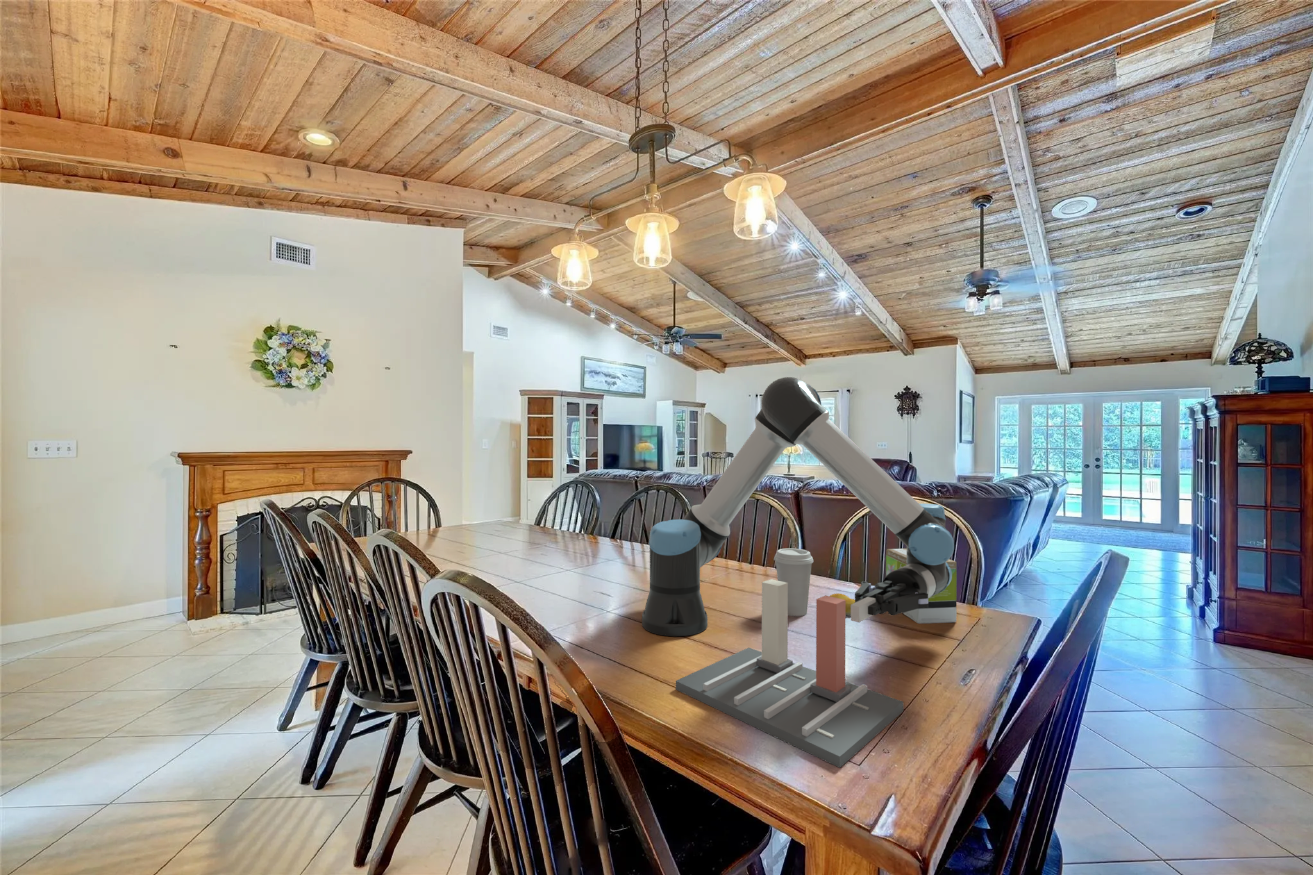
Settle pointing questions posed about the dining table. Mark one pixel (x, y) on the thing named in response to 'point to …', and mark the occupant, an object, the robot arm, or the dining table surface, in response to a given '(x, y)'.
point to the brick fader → (830, 649)
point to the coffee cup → (795, 577)
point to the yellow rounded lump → (847, 604)
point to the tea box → (938, 605)
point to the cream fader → (774, 626)
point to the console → (792, 705)
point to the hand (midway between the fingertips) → (855, 613)
